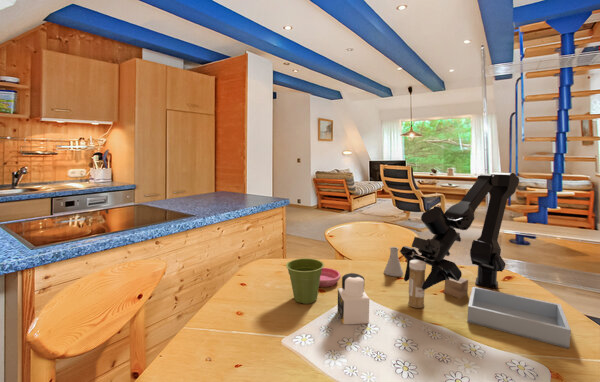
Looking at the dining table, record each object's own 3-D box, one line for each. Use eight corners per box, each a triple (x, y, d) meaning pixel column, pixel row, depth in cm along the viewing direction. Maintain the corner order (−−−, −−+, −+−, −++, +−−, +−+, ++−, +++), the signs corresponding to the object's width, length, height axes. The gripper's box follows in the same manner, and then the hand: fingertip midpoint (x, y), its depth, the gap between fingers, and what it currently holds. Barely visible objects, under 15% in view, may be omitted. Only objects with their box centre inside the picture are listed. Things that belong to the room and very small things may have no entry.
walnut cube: (451, 289, 101) (452, 274, 100) (467, 294, 97) (468, 279, 96) (444, 293, 98) (444, 278, 97) (459, 298, 94) (460, 283, 93)
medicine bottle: (337, 311, 86) (337, 271, 85) (361, 310, 87) (362, 270, 85) (342, 325, 79) (343, 281, 78) (369, 323, 80) (370, 280, 78)
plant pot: (304, 287, 102) (304, 255, 101) (331, 298, 94) (331, 264, 93) (278, 298, 94) (278, 264, 93) (305, 312, 86) (305, 274, 84)
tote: (471, 300, 92) (472, 286, 92) (559, 320, 81) (560, 304, 81) (467, 321, 80) (468, 306, 80) (569, 348, 69) (571, 330, 68)
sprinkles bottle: (423, 310, 87) (425, 265, 85) (406, 306, 89) (408, 262, 88) (425, 303, 91) (427, 260, 89) (409, 300, 93) (410, 258, 91)
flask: (404, 277, 110) (405, 251, 109) (384, 276, 112) (385, 250, 110) (402, 270, 117) (402, 245, 116) (382, 269, 119) (383, 244, 118)
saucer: (313, 272, 116) (313, 265, 115) (344, 278, 111) (344, 269, 110) (300, 285, 105) (300, 276, 104) (334, 291, 99) (334, 282, 99)
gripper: (404, 221, 97) (377, 259, 94) (457, 234, 81) (426, 281, 77) (421, 242, 102) (395, 279, 98) (474, 258, 85) (445, 303, 81)
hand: (413, 284), depth 88 cm, fingers open, 6 cm apart
